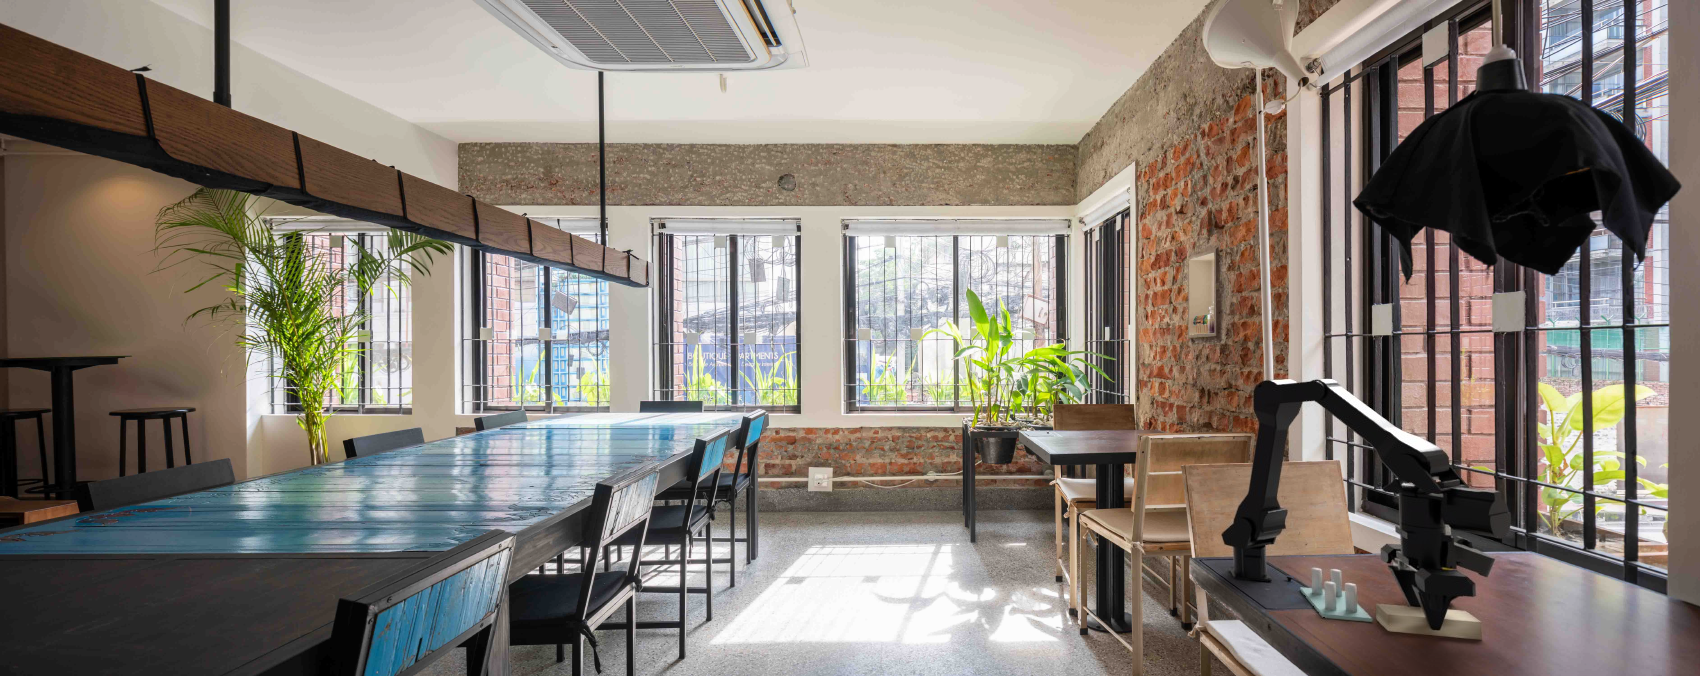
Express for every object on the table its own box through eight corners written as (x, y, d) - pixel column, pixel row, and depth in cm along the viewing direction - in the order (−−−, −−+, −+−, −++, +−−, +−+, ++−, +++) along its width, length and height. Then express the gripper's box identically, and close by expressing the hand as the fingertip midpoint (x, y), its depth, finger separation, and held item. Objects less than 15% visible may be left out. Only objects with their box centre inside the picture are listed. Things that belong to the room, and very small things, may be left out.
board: (1388, 633, 111) (1387, 614, 112) (1376, 621, 116) (1375, 603, 116) (1482, 641, 107) (1481, 622, 108) (1466, 629, 112) (1465, 610, 112)
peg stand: (1300, 590, 131) (1299, 563, 131) (1344, 593, 128) (1343, 566, 128) (1322, 617, 118) (1321, 587, 118) (1372, 621, 115) (1371, 591, 115)
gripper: (1518, 542, 101) (1523, 652, 100) (1456, 513, 118) (1460, 607, 118) (1423, 537, 105) (1428, 643, 104) (1377, 510, 122) (1381, 600, 122)
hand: (1426, 622), depth 112 cm, fingers open, 6 cm apart
